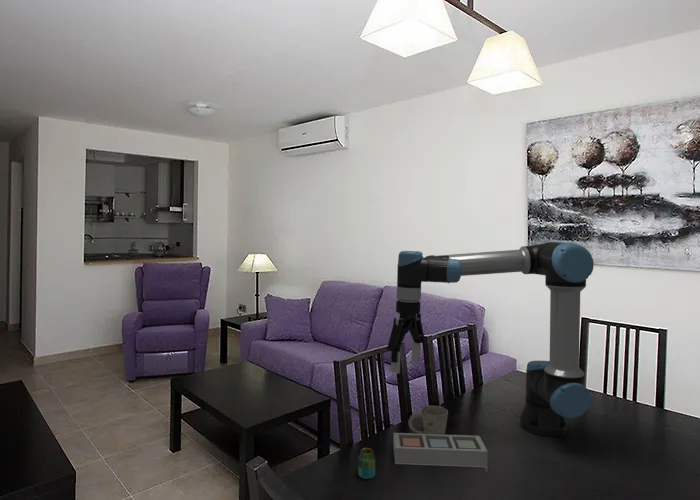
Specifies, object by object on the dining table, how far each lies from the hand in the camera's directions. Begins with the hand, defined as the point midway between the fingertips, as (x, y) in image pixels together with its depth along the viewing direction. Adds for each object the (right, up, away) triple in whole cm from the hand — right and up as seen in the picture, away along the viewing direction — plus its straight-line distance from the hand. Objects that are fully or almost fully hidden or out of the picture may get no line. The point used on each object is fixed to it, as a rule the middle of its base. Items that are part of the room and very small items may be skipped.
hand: (405, 367), depth 147 cm
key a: (+17, -22, -10) cm, 29 cm away
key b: (+9, -22, -9) cm, 26 cm away
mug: (+8, -25, +5) cm, 26 cm away
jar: (-13, -26, -20) cm, 35 cm away
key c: (+1, -22, -9) cm, 24 cm away
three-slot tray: (+9, -25, -9) cm, 28 cm away
